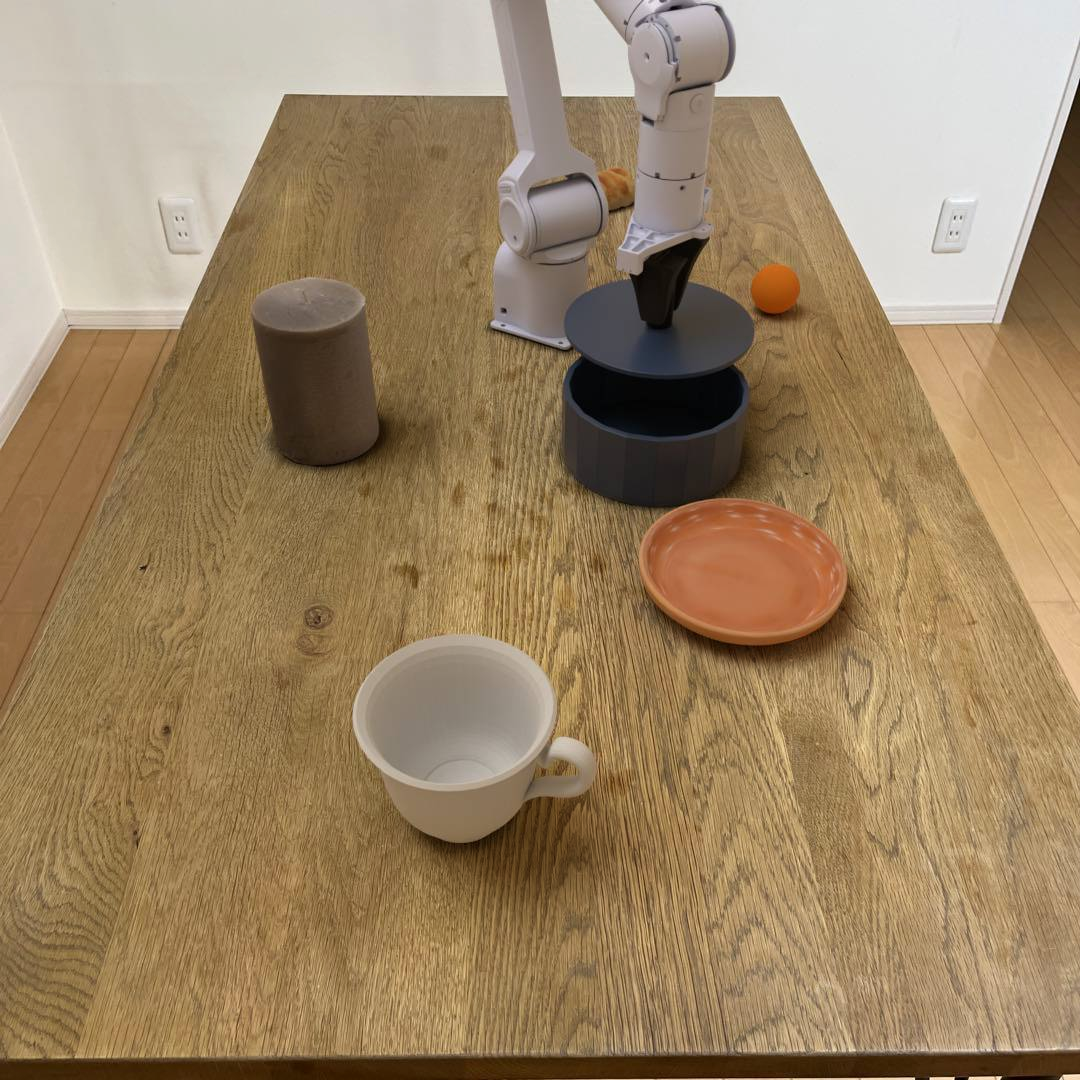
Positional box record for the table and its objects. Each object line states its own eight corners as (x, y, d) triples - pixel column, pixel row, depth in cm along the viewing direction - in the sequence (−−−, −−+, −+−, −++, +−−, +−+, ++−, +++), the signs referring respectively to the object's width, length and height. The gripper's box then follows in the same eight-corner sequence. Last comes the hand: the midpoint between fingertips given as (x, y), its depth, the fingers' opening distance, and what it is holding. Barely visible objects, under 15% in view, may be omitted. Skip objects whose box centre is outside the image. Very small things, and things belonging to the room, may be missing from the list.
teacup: (553, 934, 65) (556, 835, 58) (334, 848, 69) (313, 747, 63) (622, 779, 73) (631, 678, 67) (422, 712, 78) (412, 610, 71)
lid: (528, 350, 99) (528, 293, 95) (618, 271, 110) (621, 218, 106) (705, 406, 92) (712, 348, 88) (781, 317, 103) (791, 262, 99)
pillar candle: (280, 474, 99) (251, 325, 89) (270, 414, 106) (242, 270, 96) (388, 456, 100) (372, 309, 91) (371, 399, 108) (355, 256, 98)
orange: (740, 314, 120) (746, 270, 117) (758, 294, 124) (764, 251, 120) (785, 327, 118) (793, 282, 115) (802, 306, 122) (810, 262, 118)
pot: (529, 470, 99) (528, 404, 94) (613, 384, 110) (616, 322, 105) (695, 529, 93) (703, 462, 88) (767, 432, 103) (777, 368, 99)
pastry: (585, 222, 137) (586, 192, 135) (551, 205, 141) (551, 175, 139) (641, 202, 142) (643, 173, 139) (606, 186, 146) (607, 157, 143)
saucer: (838, 535, 92) (844, 507, 90) (844, 675, 80) (852, 647, 78) (646, 514, 94) (649, 486, 92) (625, 648, 82) (627, 620, 81)
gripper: (678, 210, 84) (664, 363, 93) (751, 146, 94) (732, 291, 103) (596, 190, 87) (590, 340, 96) (676, 130, 96) (663, 272, 105)
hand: (659, 314), depth 100 cm, fingers closed on lid, 2 cm apart
